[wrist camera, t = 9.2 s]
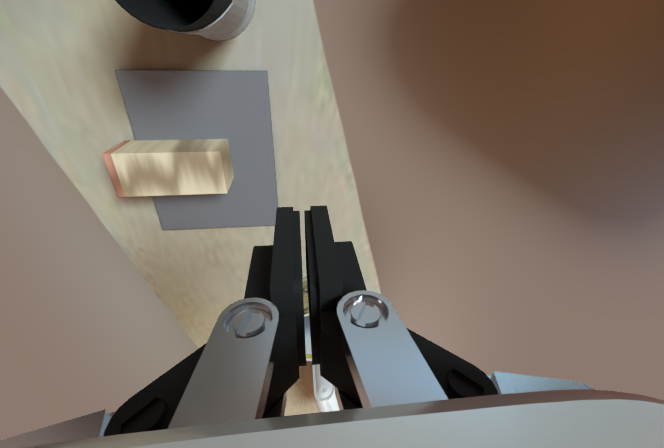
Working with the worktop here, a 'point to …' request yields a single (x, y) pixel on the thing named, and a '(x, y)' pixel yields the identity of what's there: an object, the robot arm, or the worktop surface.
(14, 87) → the worktop surface
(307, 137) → the worktop surface
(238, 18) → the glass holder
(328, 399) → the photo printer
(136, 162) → the maple block
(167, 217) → the rubber mat
